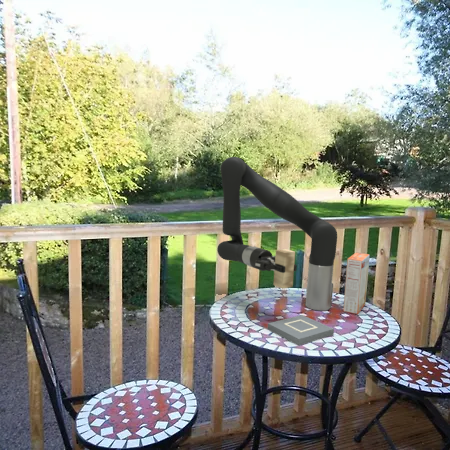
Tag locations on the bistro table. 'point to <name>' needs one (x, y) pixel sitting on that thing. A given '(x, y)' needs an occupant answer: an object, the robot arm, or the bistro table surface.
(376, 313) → the bistro table surface
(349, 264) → the cracker box
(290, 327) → the grey rectangular slab
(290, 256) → the maple block
